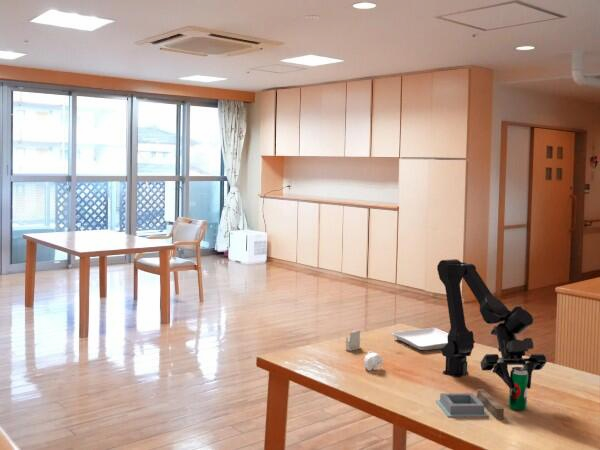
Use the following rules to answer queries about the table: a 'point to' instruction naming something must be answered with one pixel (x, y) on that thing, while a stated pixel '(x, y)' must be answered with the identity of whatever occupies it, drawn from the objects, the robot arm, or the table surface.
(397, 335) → the salad plate
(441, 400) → the socket
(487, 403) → the long brown rectangular bar
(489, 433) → the table surface
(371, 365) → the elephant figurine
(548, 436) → the table surface
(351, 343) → the architectural model
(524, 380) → the soda can
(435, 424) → the table surface
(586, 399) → the table surface
